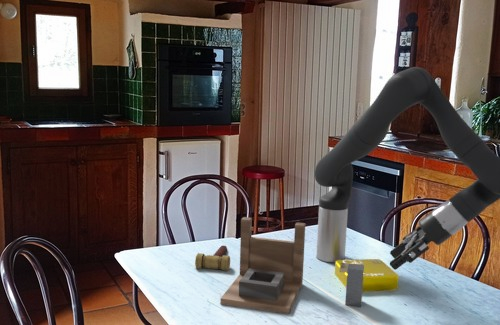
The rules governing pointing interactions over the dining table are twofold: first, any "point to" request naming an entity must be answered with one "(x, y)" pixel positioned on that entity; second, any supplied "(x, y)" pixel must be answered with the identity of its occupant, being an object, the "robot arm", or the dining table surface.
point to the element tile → (371, 275)
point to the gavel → (214, 260)
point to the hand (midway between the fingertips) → (392, 261)
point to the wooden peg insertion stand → (267, 271)
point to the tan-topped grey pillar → (353, 283)
